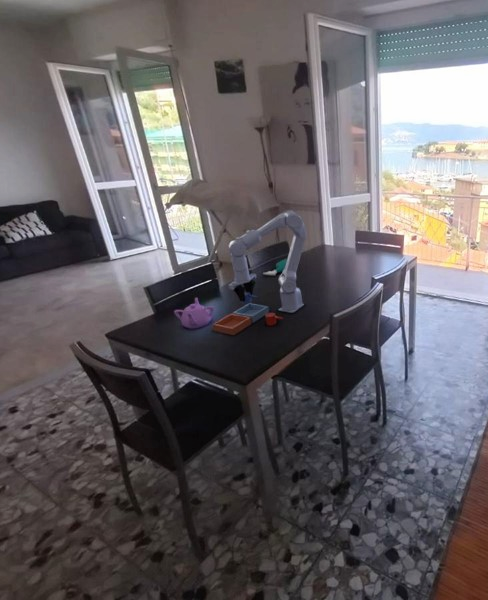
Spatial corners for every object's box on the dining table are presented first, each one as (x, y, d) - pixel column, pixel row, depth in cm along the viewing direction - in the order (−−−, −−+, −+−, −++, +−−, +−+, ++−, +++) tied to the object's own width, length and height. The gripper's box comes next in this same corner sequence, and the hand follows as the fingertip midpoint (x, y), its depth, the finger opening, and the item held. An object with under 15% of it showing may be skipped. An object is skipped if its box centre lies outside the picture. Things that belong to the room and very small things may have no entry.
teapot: (193, 333, 143) (187, 313, 140) (174, 324, 150) (169, 305, 147) (219, 321, 153) (215, 303, 149) (200, 314, 159) (196, 296, 156)
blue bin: (250, 308, 164) (249, 303, 163) (269, 312, 160) (268, 306, 159) (233, 318, 155) (232, 312, 154) (253, 322, 151) (252, 316, 150)
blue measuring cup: (239, 303, 153) (238, 294, 151) (246, 299, 156) (244, 291, 155) (255, 305, 150) (253, 297, 149) (261, 302, 154) (259, 293, 152)
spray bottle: (300, 264, 223) (277, 277, 202) (285, 262, 226) (261, 276, 205) (299, 259, 221) (276, 273, 200) (284, 258, 225) (260, 271, 204)
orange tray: (232, 319, 154) (231, 313, 153) (251, 323, 151) (250, 317, 149) (213, 330, 145) (211, 324, 144) (233, 335, 142) (232, 328, 140)
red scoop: (264, 324, 150) (263, 316, 148) (270, 320, 153) (269, 312, 151) (280, 327, 147) (279, 319, 145) (286, 323, 150) (285, 315, 149)
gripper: (245, 263, 155) (250, 291, 161) (220, 273, 143) (226, 304, 149) (258, 264, 153) (263, 293, 158) (234, 275, 141) (240, 306, 146)
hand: (246, 299), depth 153 cm, fingers closed on blue measuring cup, 4 cm apart
